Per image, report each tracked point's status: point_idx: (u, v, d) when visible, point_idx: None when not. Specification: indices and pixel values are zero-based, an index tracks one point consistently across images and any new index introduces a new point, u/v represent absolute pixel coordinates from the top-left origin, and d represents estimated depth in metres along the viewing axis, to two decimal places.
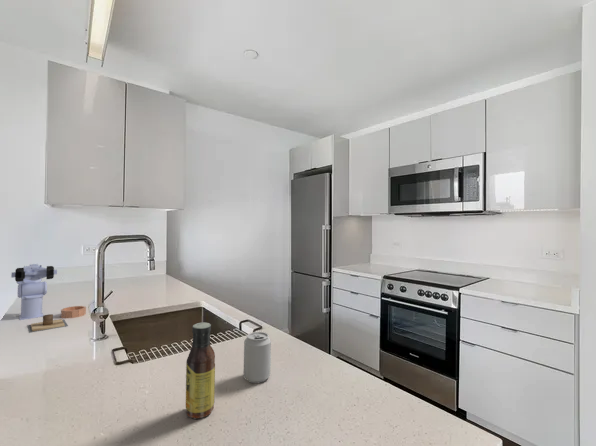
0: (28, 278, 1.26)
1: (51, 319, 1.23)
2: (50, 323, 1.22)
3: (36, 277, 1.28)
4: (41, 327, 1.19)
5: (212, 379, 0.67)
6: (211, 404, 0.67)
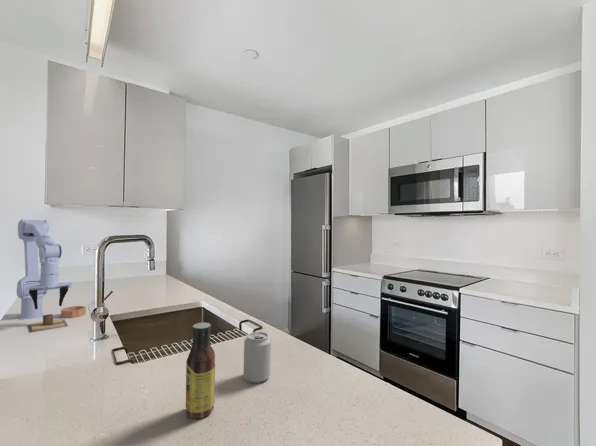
0: None
1: (51, 319, 1.23)
2: (50, 323, 1.22)
3: None
4: (41, 327, 1.19)
5: (212, 379, 0.67)
6: (211, 404, 0.67)
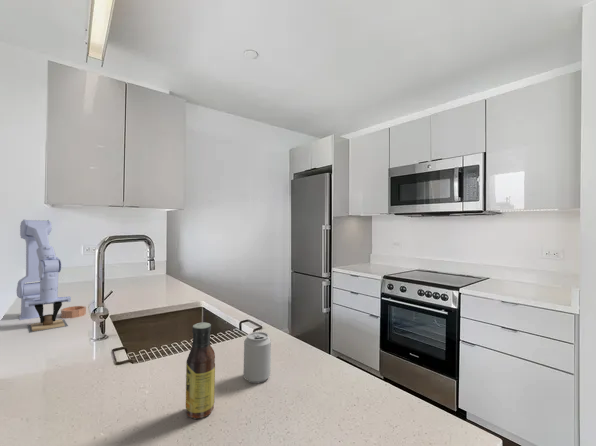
0: None
1: (51, 319, 1.23)
2: (50, 323, 1.22)
3: None
4: (41, 327, 1.19)
5: (212, 379, 0.67)
6: (211, 404, 0.67)
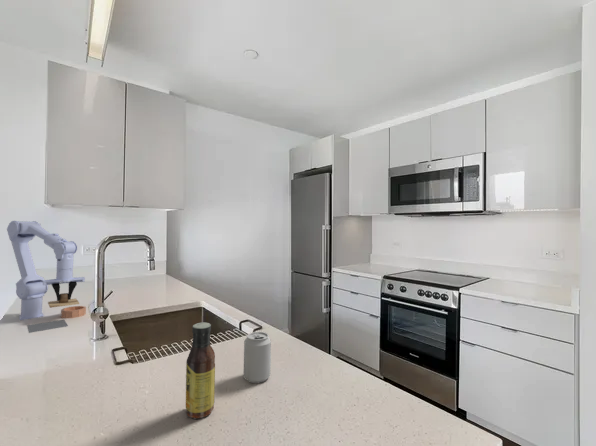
0: None
1: (67, 297, 1.31)
2: (66, 301, 1.31)
3: None
4: (58, 304, 1.27)
5: (212, 379, 0.67)
6: (211, 404, 0.67)
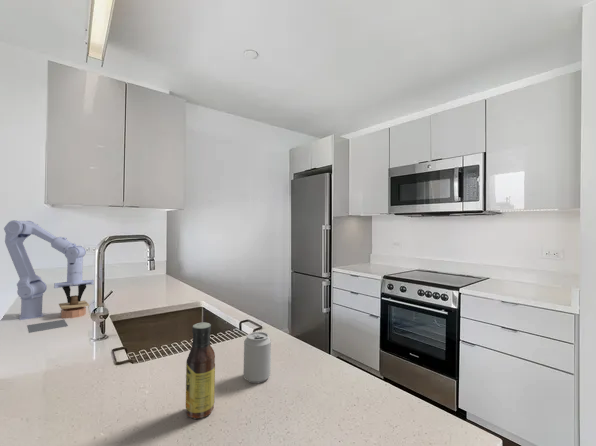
0: None
1: (77, 299, 1.38)
2: (76, 303, 1.37)
3: None
4: (69, 306, 1.34)
5: (212, 379, 0.67)
6: (211, 404, 0.67)
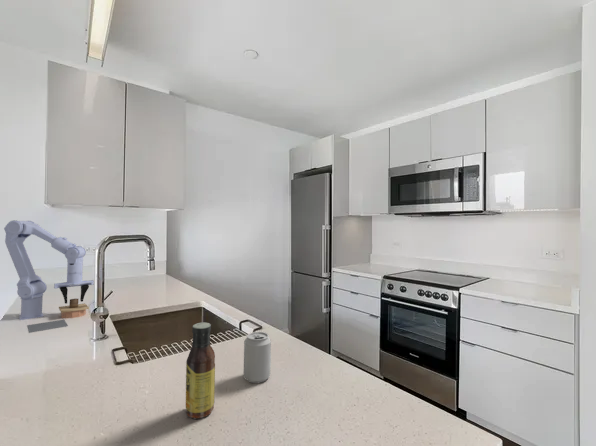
0: None
1: (77, 303, 1.38)
2: (76, 306, 1.37)
3: None
4: (68, 309, 1.34)
5: (212, 379, 0.67)
6: (211, 404, 0.67)
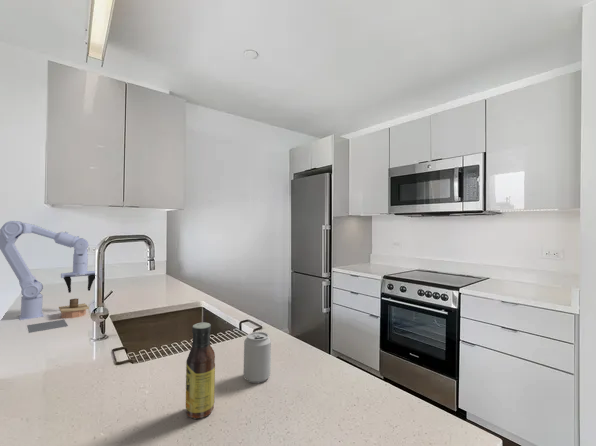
0: None
1: (77, 303, 1.38)
2: (76, 306, 1.37)
3: None
4: (68, 309, 1.34)
5: (212, 379, 0.67)
6: (211, 404, 0.67)
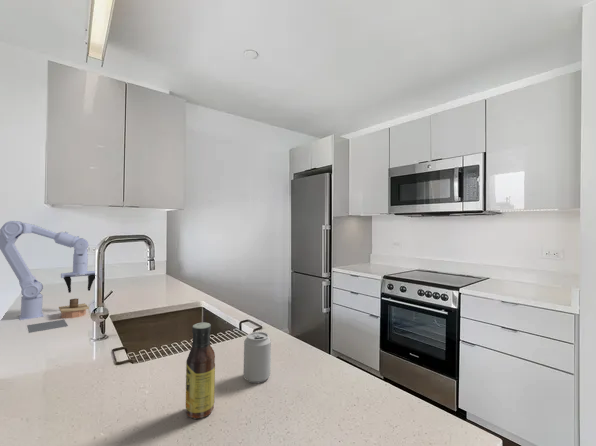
0: None
1: (77, 303, 1.38)
2: (76, 306, 1.37)
3: None
4: (68, 309, 1.34)
5: (212, 379, 0.67)
6: (211, 404, 0.67)
